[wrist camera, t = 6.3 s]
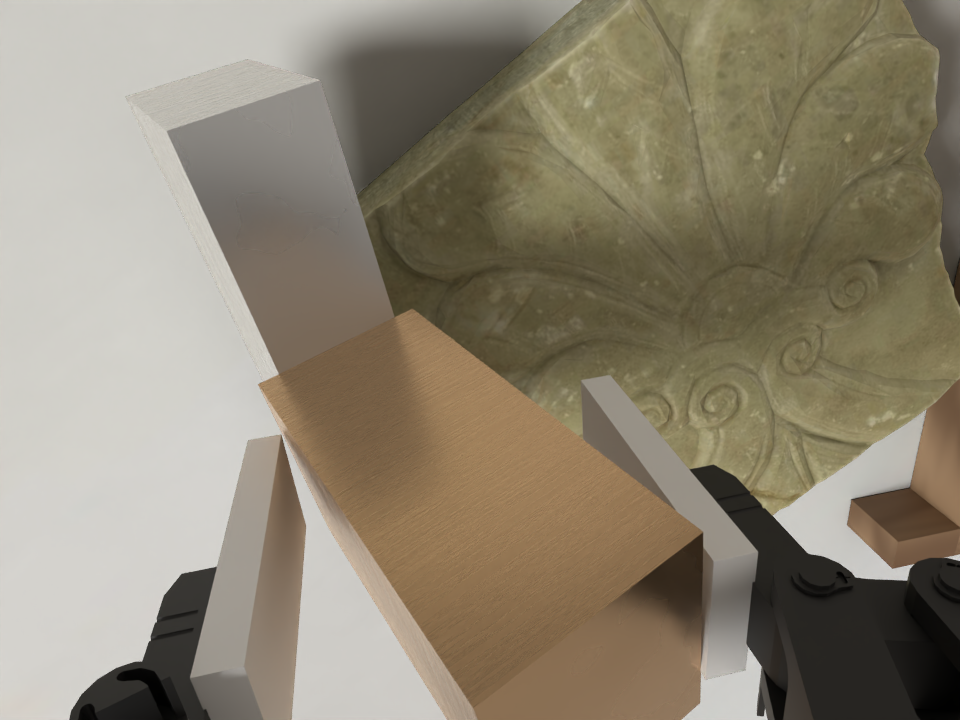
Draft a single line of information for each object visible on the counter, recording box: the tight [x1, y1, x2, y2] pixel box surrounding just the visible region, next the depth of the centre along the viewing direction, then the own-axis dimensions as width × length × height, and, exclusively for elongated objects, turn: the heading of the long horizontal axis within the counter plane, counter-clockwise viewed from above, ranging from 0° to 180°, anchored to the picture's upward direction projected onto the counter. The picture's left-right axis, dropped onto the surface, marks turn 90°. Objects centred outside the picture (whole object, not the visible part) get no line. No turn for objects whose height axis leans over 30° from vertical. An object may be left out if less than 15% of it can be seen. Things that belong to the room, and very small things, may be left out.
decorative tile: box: [357, 0, 960, 515], centre depth 23 cm, size 19×20×4 cm
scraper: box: [126, 59, 703, 720], centre depth 15 cm, size 16×4×14 cm, turn 12°
